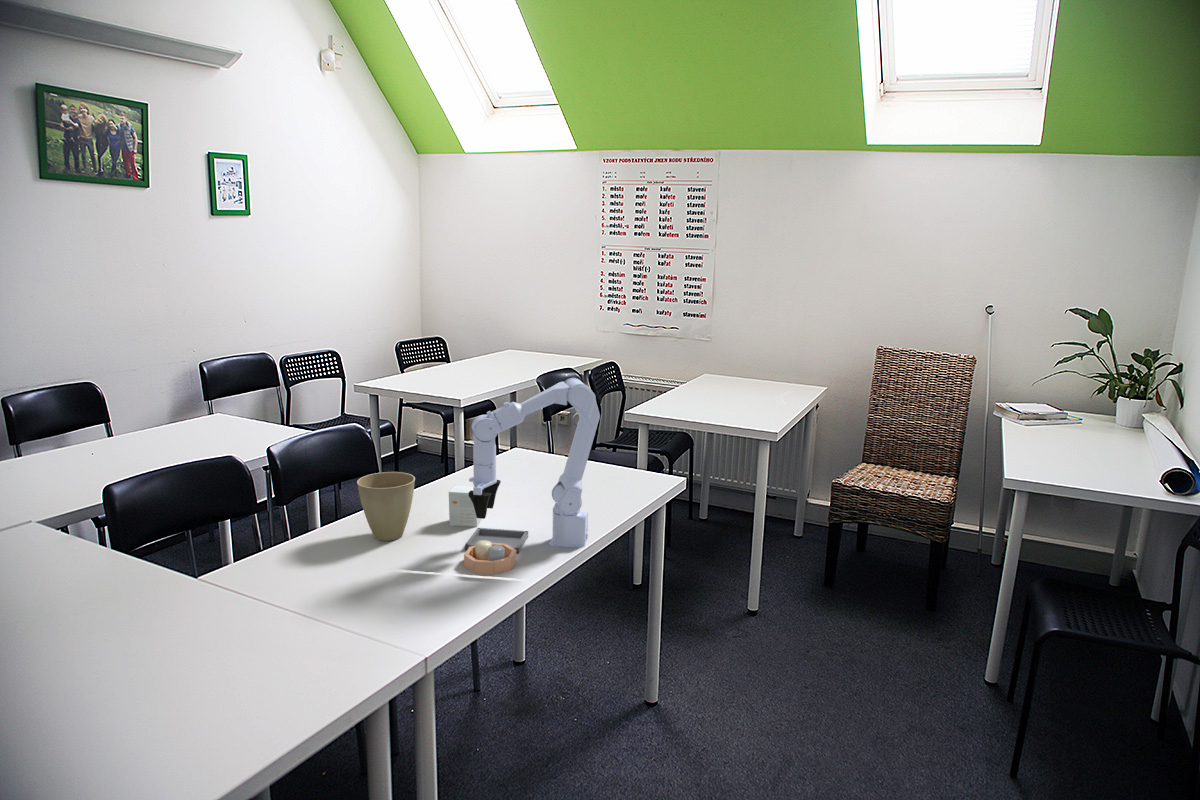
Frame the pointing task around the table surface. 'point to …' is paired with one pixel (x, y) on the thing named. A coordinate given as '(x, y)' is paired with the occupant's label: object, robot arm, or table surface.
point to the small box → (462, 507)
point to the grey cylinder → (496, 553)
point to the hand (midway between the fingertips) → (485, 512)
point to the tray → (499, 537)
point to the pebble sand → (482, 549)
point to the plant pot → (386, 502)
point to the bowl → (490, 566)
